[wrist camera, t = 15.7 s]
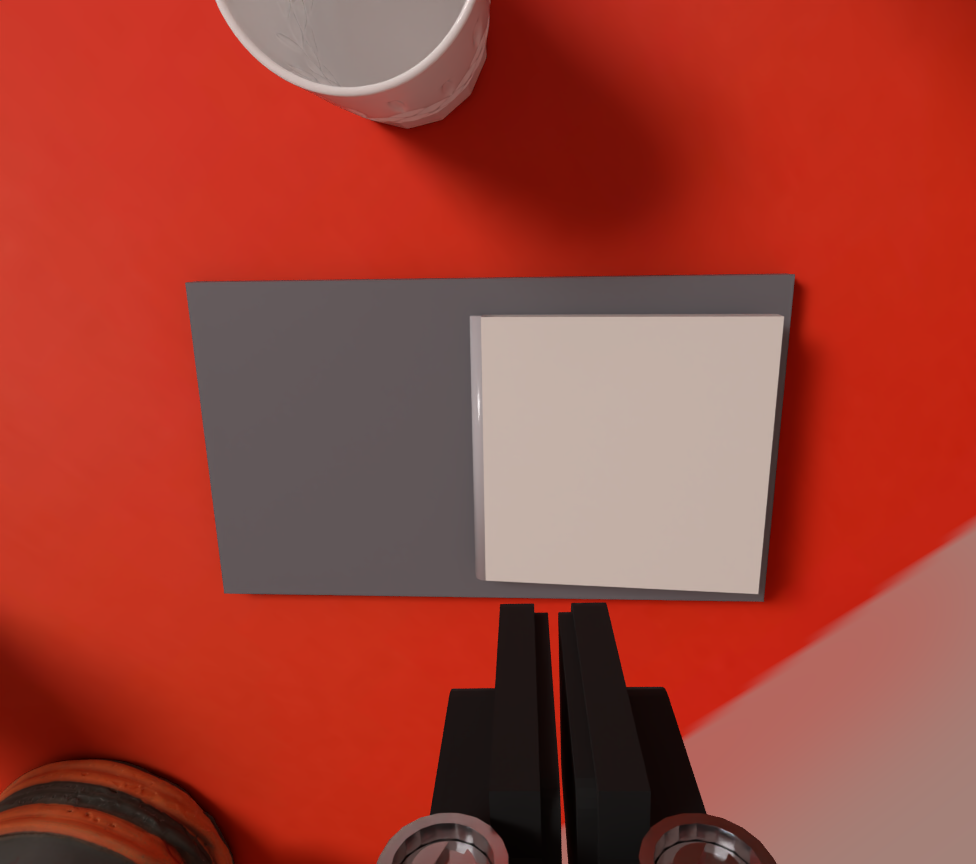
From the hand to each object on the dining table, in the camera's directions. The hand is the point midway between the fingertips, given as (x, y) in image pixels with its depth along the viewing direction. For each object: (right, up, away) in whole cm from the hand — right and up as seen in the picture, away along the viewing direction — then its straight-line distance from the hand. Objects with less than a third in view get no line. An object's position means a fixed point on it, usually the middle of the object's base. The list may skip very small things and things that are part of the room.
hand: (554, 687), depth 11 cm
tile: (+4, +3, +19) cm, 19 cm away
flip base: (-1, +4, +22) cm, 22 cm away
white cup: (-4, +20, +18) cm, 27 cm away
